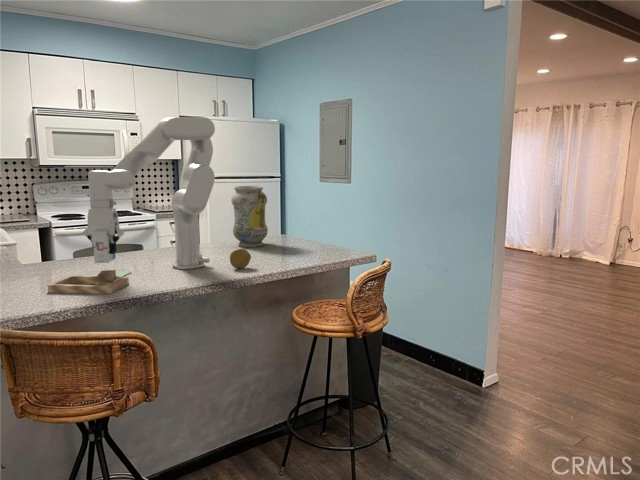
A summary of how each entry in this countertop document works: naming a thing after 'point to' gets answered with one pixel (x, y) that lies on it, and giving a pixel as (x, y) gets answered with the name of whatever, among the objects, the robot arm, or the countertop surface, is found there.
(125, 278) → the frame
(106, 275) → the offcut top
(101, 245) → the ink box
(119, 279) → the offcut low
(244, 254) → the potato
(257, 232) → the vase
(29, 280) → the countertop surface
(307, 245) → the countertop surface
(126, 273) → the mat
